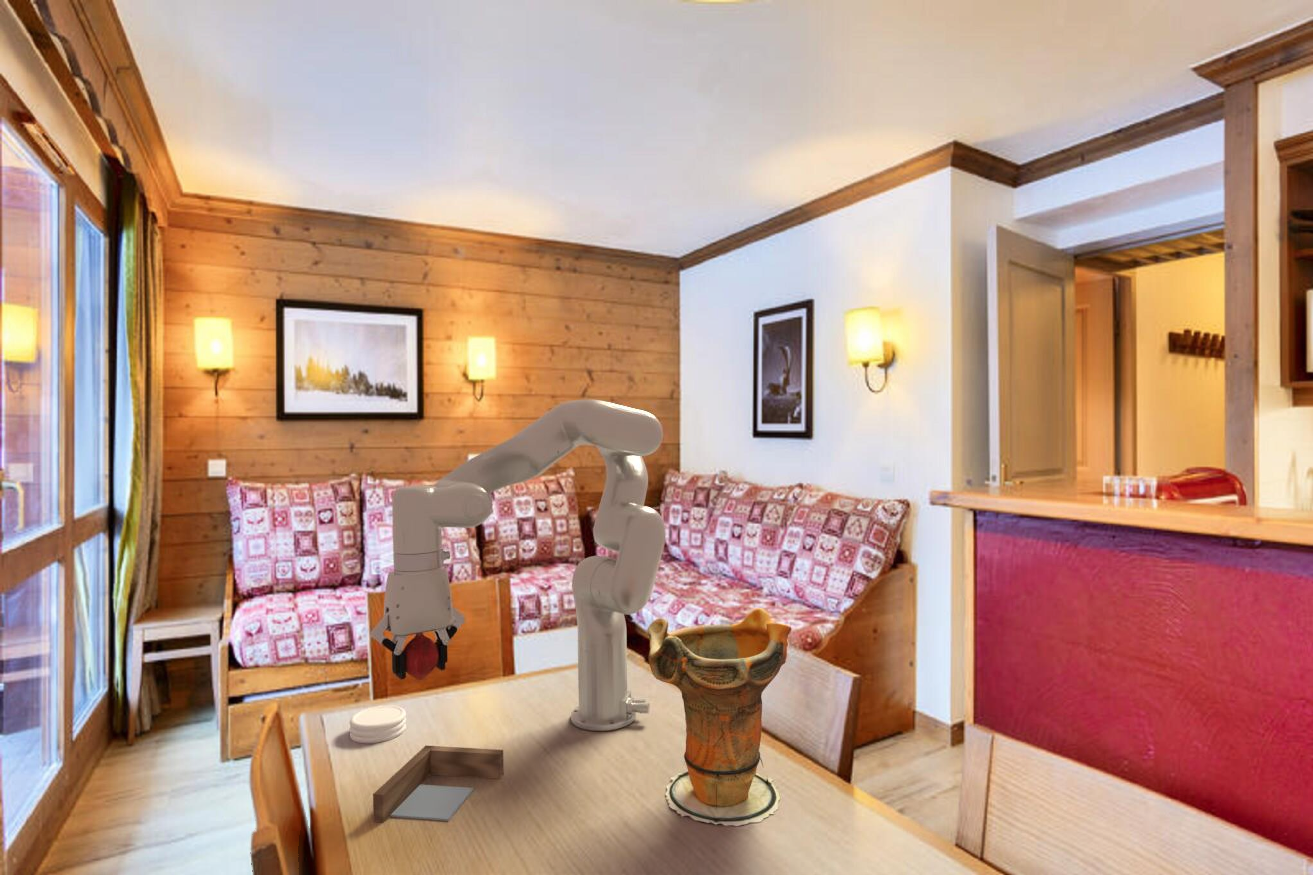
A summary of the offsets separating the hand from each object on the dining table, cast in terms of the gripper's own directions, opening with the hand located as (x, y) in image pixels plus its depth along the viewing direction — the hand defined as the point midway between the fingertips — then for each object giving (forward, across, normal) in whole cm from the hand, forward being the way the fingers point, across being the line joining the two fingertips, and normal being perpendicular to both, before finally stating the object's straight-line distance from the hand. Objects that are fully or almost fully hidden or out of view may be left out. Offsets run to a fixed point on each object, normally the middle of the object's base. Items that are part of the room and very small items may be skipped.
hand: (420, 671), depth 115 cm
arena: (+17, 0, +8) cm, 19 cm away
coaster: (+18, 0, -23) cm, 29 cm away
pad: (+17, +2, +9) cm, 20 cm away
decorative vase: (+18, -34, +35) cm, 52 cm away
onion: (+2, 0, 0) cm, 2 cm away
